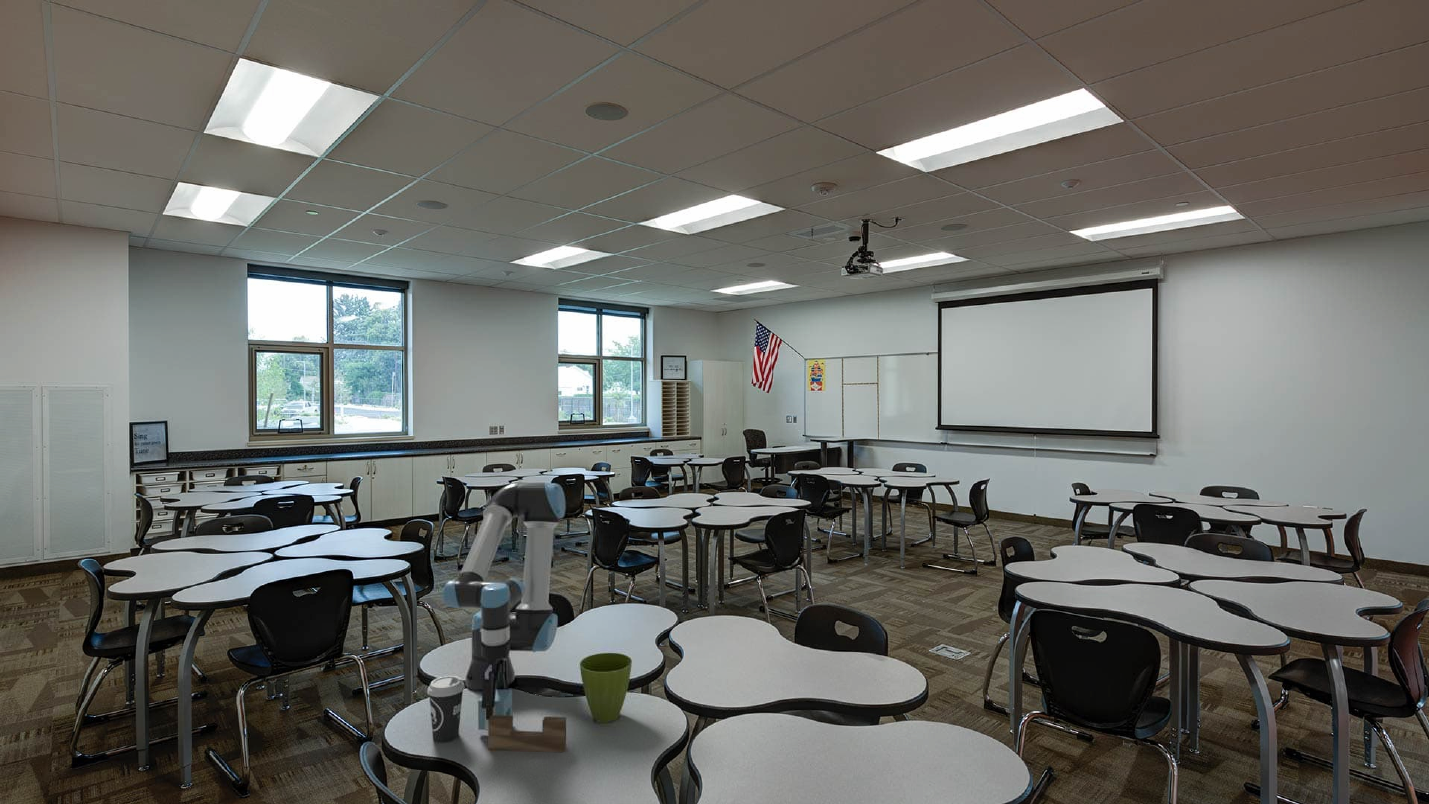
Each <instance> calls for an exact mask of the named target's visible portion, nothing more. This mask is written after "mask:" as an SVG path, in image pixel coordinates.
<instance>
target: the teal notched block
mask: <svg viewBox="0 0 1429 804" xmlns="http://www.w3.org/2000/svg"><path fill="white" fill-rule="evenodd" d="M477 702H478V703H477V705H478V707H477V708H478V709H477V713H478V715H477V717H478V720H477V722H478V723H477V724H478V730H480V731H481V730H483V731H486V730H485V708H482V707H481V705H482V696H480V698H479V699H478V701H477ZM494 706H496V715H505V716H513V689H509V690H499V689H496V695H495V704H494Z"/></svg>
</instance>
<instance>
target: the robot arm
mask: <svg viewBox="0 0 1429 804" xmlns="http://www.w3.org/2000/svg"><path fill="white" fill-rule="evenodd" d="M566 509H567V508H566V497H565V492H564V490H563V487H562V486H561V485H560V484H558V483H554V482H553V483H552V482H519V481H518V482H513V483H510V484H507V485H505V486H503V487H502V488H500V489H499V490H497V492H495V493H494V494H493V496H492V497H491V498H490V499H489V500H488V502H487V503H486V504H485V507H484V509H483V512H482V516H483V519H482V522H481V524H480V526H479V528H478V531H477V533H476V536H475V538H474V540H473V542H472V545H471V548H470V550H469V552H468V555H467V556H466V558H465V559H466V560H465V561H464V563H463V566H462V568H461V571H460V574H459V575H458V577H457V580H456V579H453V580H448V581H447V582H446V583H445V584H444V587H443V589H442V590H443V591H442V601H443V604H444V605H445V606H446V607H449V608H450V607H451V608H456V609H457V608H459V609H461V608H464V609H465V608H470V609H471V608H472V609H473V608H478V609H480V611H478V612H477V613H475V614H474V615H473V617H472V621H471V629H470V630H471V659H470V660H471V661H470V663H469V667H468V669H467V673H466V676H465V687H466V688H467V689H468V690H473V691H477V690H482V691H481V697H482V705H481V707H482V708H485V730H484V731H488V719H489V718H490V717H491V715H496V706H494V704H495V695H496V689H499V690H510V687H509V685H511V684H513V683H514V681H515V674H516V673H515V670H514V666H513V663H512V660H511V657H510V652H532V653H536V652H547V651H548V650H549V649H550V648H551V646H552V645H553V643H554V640H555V637H556V634H557V630H558V623H559V621H558V620H559V619H558V615H557V614H555V613H553V607H552V605H551V604H550V602H549V598H550V597H549V596H550V595H549V594H550V582H551V570H552V568H551V567H552V556H553V554H552V553H553V546H554V545H553V540H554V532H555V531H554V530H555V528H556V527H557V526H558V525H559V522H560V519H562V518H564V517H565V514H566ZM514 518H523V519H522V520H523V521H522V523H523V525H525V527H526V528H527V529H526V541H525V553H524V564H523V565H524V566H523V580H520V579H518V578H515V577H510V578H507V579H505V580H503V581H486V578H487V576H488V573H489V571H490V567H491V565H492V564H493V563H492V562H493V560H494V558H495V555H496V552H497V550H498V547H499V546H500V543H501V541H502V538H503V536H504V532H505V530H506V527H507V526H508V525H510V524H511V523H512V521H513V519H514ZM514 608H515V612H511V611H512V609H514Z"/></svg>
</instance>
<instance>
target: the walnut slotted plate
mask: <svg viewBox="0 0 1429 804" xmlns="http://www.w3.org/2000/svg"><path fill="white" fill-rule="evenodd" d="M541 723H542V727H541V728H542V729H541V731H540V730H539V731H538V730H537V731H536V730H535V731H532V730H514V716H513V715H512V716H505V715H491V717H490V718H489V719H488V730H487V731H488V732H487V733H488V737H487V738H488V740H487V741H488V744H487V750H488V751H491V750H492V751H515V752H516V751H518V752H519V751H520V752H522V751H523V752H550V753H552V752H554V753H564V752H565V750H566V749H567V717H566V716H544V718H543V720H542V722H541Z"/></svg>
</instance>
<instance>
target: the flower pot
mask: <svg viewBox="0 0 1429 804" xmlns="http://www.w3.org/2000/svg"><path fill="white" fill-rule="evenodd" d="M632 664H633V660H632V658H631V657H630V656H628V655H625V654H623V653H618V652H601V653H595V654H591V655H588V656H586V657H584V658H583V659H581V661H580V662H579V668H580V677H581V681H582V686H583V690H584V694H585V698H586V702H587V704H588V708H589V710H590V712H591V716H592V718H593V720H594V721H595V722H598V723H610V722H614V721H616V720H617V719H619V717H620V714H621V712H622V708H623V706H624V704H625V700H626V696H627V691H628V688H629V683H630V678H631V677H630V676H631V671H632Z"/></svg>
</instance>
